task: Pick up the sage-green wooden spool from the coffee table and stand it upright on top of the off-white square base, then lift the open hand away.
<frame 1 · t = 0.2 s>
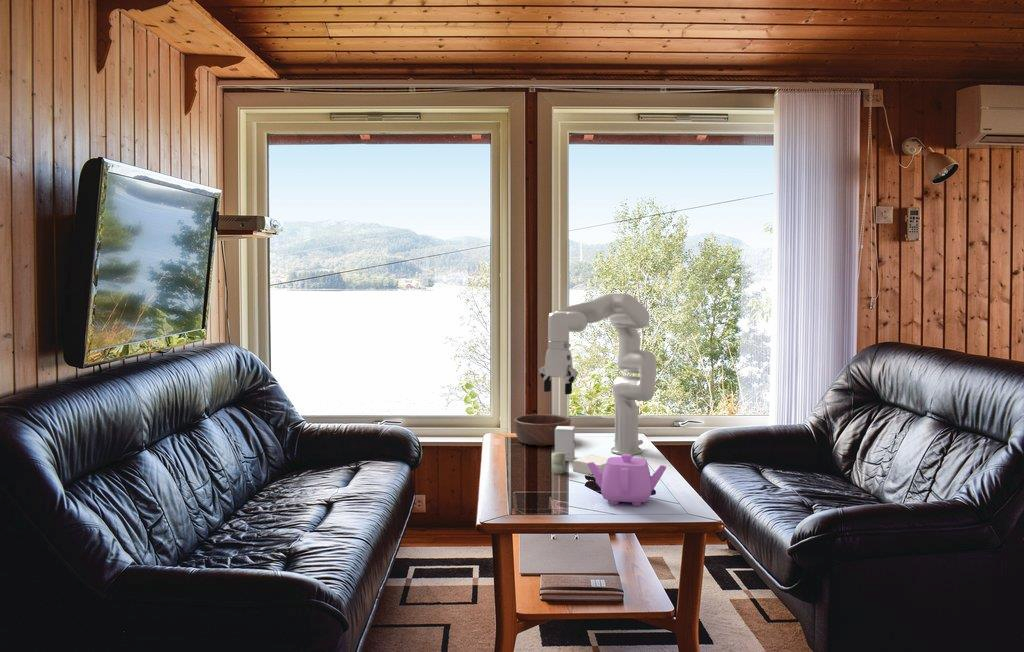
hand: (557, 392, 273), 30 cm above the table, tool pointing down, fingers open, 9 cm apart
spool: (558, 472, 277), on the table
base: (595, 470, 279), on the table
teapot: (626, 501, 240), on the table
supplement box: (564, 459, 297), on the table
wooden bowl: (542, 442, 330), on the table
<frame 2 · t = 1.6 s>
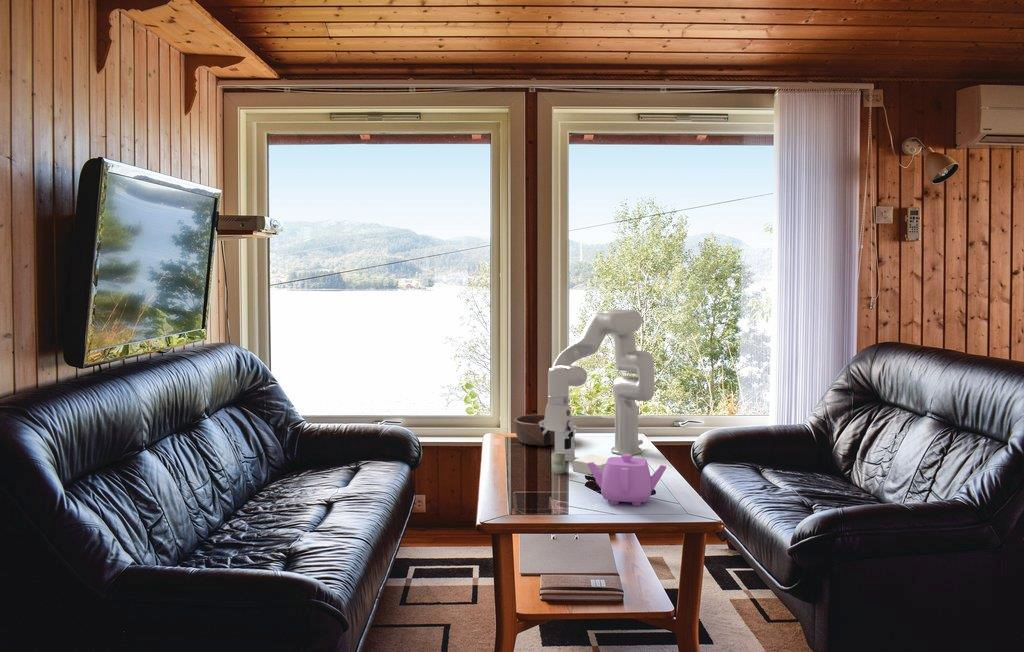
hand: (557, 446, 276), 10 cm above the table, tool pointing down, fingers open, 9 cm apart
nothing on the table moved.
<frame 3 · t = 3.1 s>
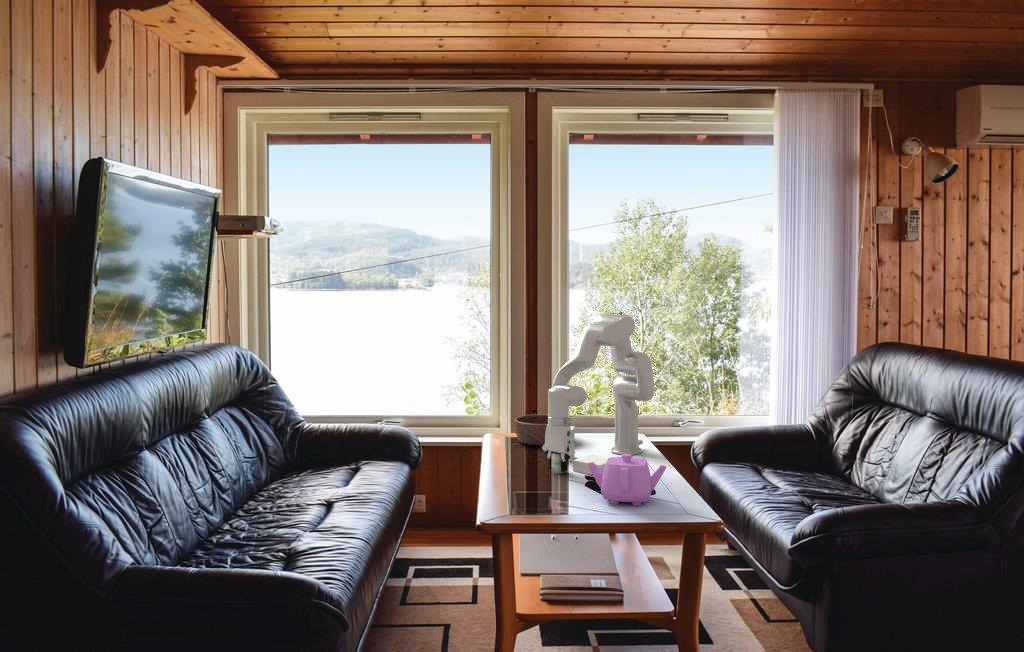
hand: (558, 469, 277), 1 cm above the table, tool pointing down, fingers closed on spool, 5 cm apart
spool: (558, 472, 277), on the table, touching gripper
everything else where it was.
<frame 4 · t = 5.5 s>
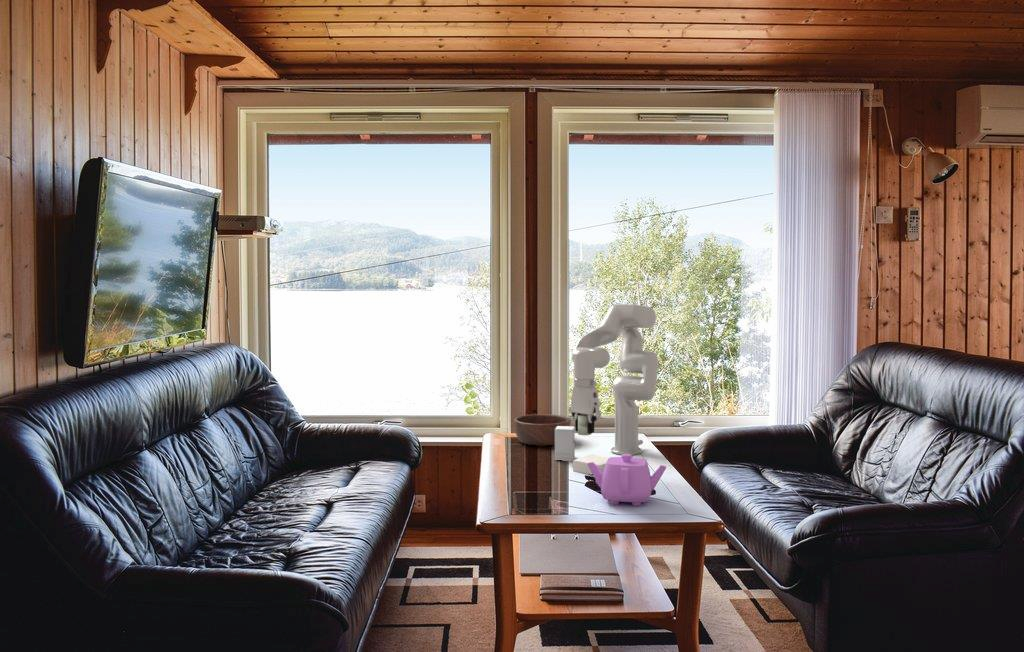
hand: (584, 431, 278), 15 cm above the table, tool pointing down, fingers closed on spool, 5 cm apart
spool: (584, 433, 278), point 14 cm above the table, touching gripper
everything else where it was.
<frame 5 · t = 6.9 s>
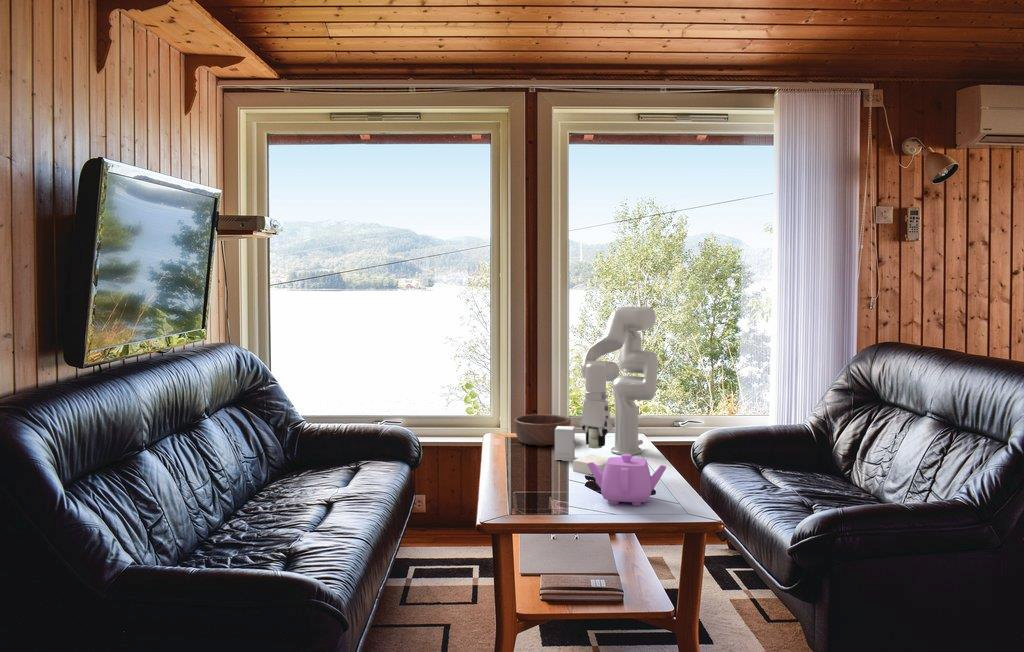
hand: (595, 444, 278), 10 cm above the table, tool pointing down, fingers closed on spool, 5 cm apart
spool: (595, 447, 278), point 9 cm above the table, touching gripper
everything else where it was.
when the fingers open (6 cm above the table, at t = 7.9 s): spool drops 1 cm, resting on base.
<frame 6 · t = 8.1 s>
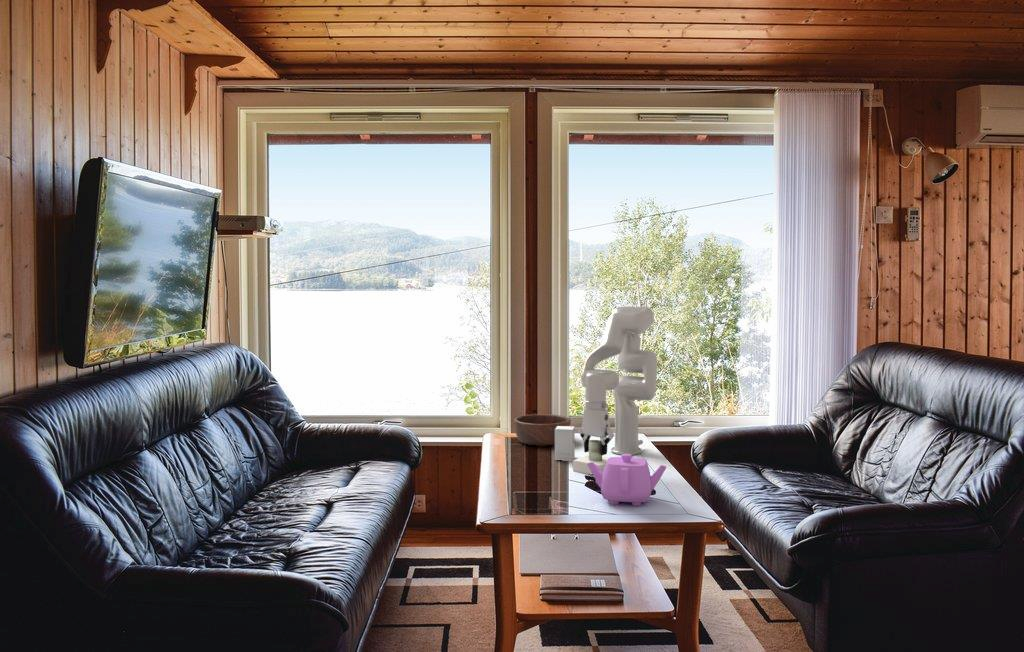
hand: (595, 452, 278), 7 cm above the table, tool pointing down, fingers open, 6 cm apart
spool: (595, 459, 279), point 4 cm above the table, touching base
everything else where it was.
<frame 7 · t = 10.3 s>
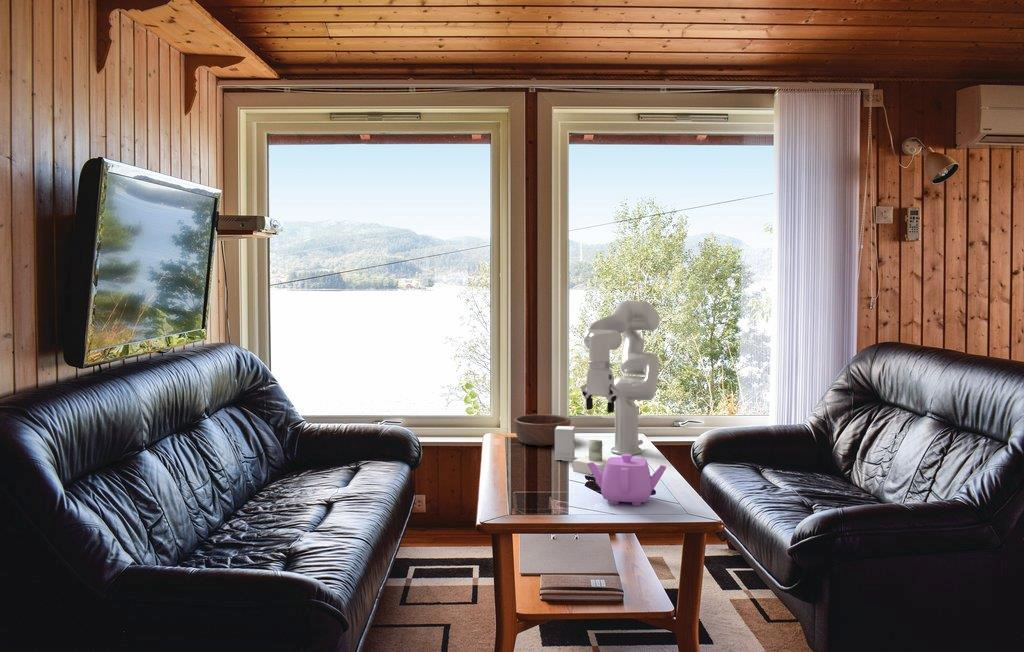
hand: (600, 410, 279), 22 cm above the table, tool pointing down, fingers open, 9 cm apart
nothing on the table moved.
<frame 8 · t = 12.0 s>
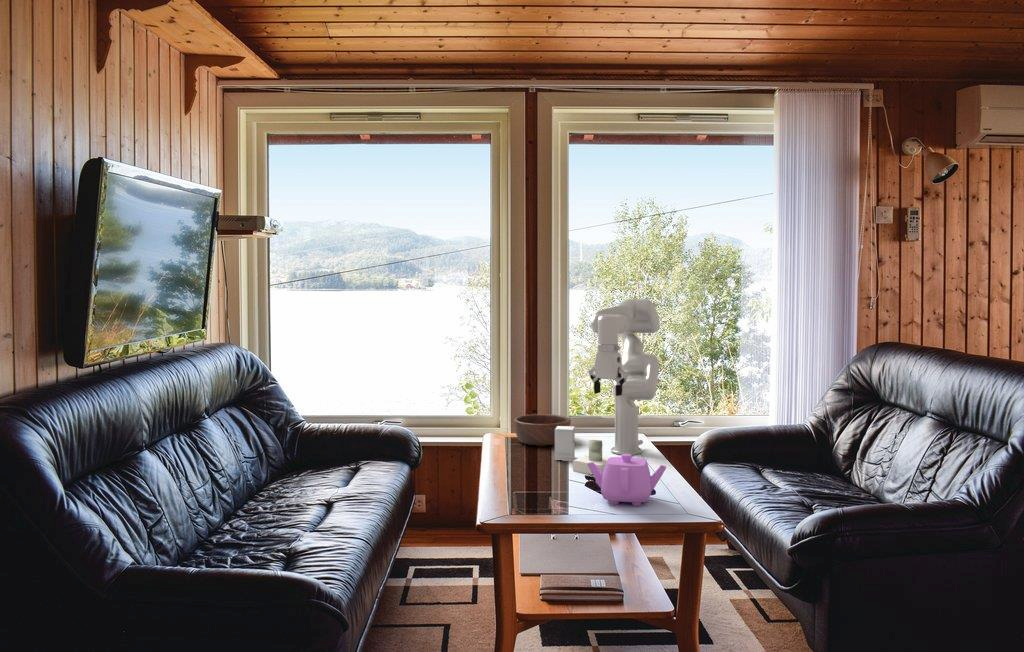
hand: (607, 394, 280), 28 cm above the table, tool pointing down, fingers open, 9 cm apart
nothing on the table moved.
at the end: spool 0.1 cm off-centre on the base, point 4.0 cm above the base's base; spool tilted 0°; the gripper is holding nothing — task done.
